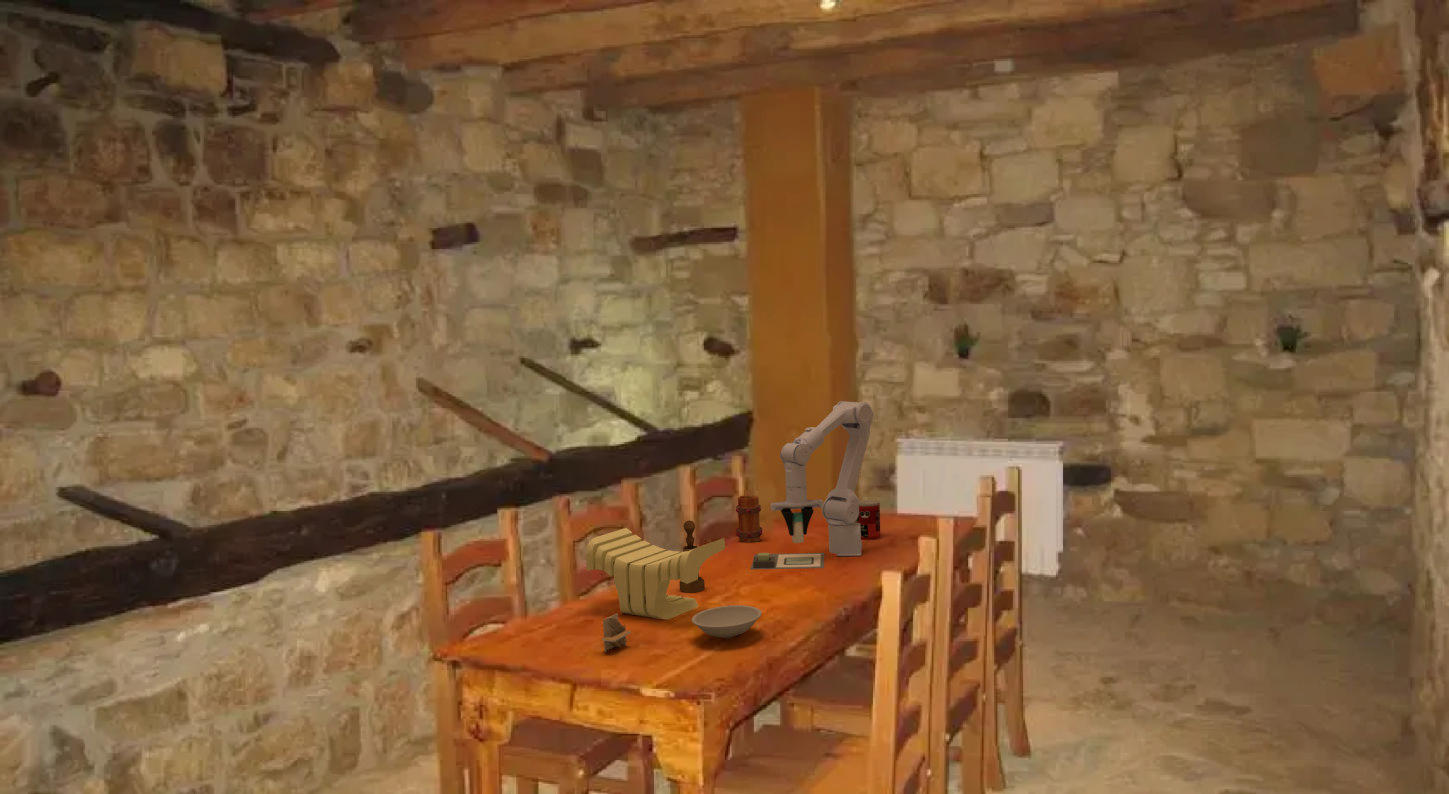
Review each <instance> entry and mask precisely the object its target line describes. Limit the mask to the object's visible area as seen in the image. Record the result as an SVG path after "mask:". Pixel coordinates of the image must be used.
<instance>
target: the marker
mask: <svg viewBox="0 0 1449 794" xmlns="http://www.w3.org/2000/svg"><path fill="white" fill-rule="evenodd" d="M792 513H793V536H791V540H792V541H791V542H792V543H794V544H801V543H804V542H805V541H804V540H805V539H804V538H805V535H804V531H803V513H802V512H801V511H800V512H799V511H795V512H792Z"/></svg>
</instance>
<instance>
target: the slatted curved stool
mask: <svg viewBox="0 0 1449 794" xmlns="http://www.w3.org/2000/svg"><path fill="white" fill-rule="evenodd" d="M725 540H726V539H725V537H723V538H720V539H716V540H714V541H711V542H707V543H706V544H702V545H700V546H697V548H694V549H692V550H690V551H685V552H683V551H678V550H677V551H675V550H670V549H668V550H667V549H666V548H662V547H660V546H656V545H653V544H652V545H651V543H650V542H648V541H646V540H642V538H641V537H639V536H638V535H637V534H633V532H632V531H631V530H630V529H628V528H627V527H624V528H622V529H618V530H614V531H612V532H608V533H604V534H603V535H598V536H595V537H593V538H592V539H591V540H590V541H589V542H588V544H587V546H586V551H585V559H586V560H585V561H586V571H587V572H588V571H593V570H596V571H604V572H605V573H606V574H608V575H609V576H610V577H613V581H614V582H613V583H614V585H615V590H616V592H617V597H618V603H619V605H618V606H619V609H620V610H619V611H620V613H622V614H628V615H633V616H641V617H645V618H653V619H660V620H671V619H672V618H676V617H677V616H679V615H682V614H684V613H685V614H686V613H687V612H689V611H693V610H694V609H696V608H698V607H699V604H698V601H697V600H696V598H694V597H688V596H685V597H684V596H680V595H674V594H671V595H668V594H667V590H668V588H669V586H670V584H671V580H674V581H679V582H680V581H681V582H684V583H686V584H688V583H691V582H693V581H696V580H698V574H699V575H700V569H701V567H702V565H703V564H704V562H706V560H707V559H708V558H710V557H712V556H714V555H715V554H717V553H719V552H721V551H725V550H726V546H725V545H726V544H725Z"/></svg>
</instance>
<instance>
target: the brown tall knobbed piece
mask: <svg viewBox="0 0 1449 794" xmlns="http://www.w3.org/2000/svg"><path fill="white" fill-rule="evenodd" d="M683 529H684V531H685V533H686V538H685V542H686V545H685V546H683V547H682V552H685V551H690V550H692V549H694V548H697V547H698V546H697V545H695V544H694V543H695V537H694V535H693V534H694V531H695V529H696V523H695V521H693V520H686V521H685V522H684V523H683ZM704 590H705V579H703V578H702V577H701V576H700V573H699V574H698V580H696V581H693V582H691V583H688V584H686V583H684V582H681V581H680V580H679V591H680V592H683V593H691V594H692V593H698V592H702V591H704Z"/></svg>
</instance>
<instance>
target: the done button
mask: <svg viewBox="0 0 1449 794" xmlns="http://www.w3.org/2000/svg"><path fill="white" fill-rule="evenodd" d="M757 554H758V561H770V556H769V554H770V552H759V553H757Z"/></svg>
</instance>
